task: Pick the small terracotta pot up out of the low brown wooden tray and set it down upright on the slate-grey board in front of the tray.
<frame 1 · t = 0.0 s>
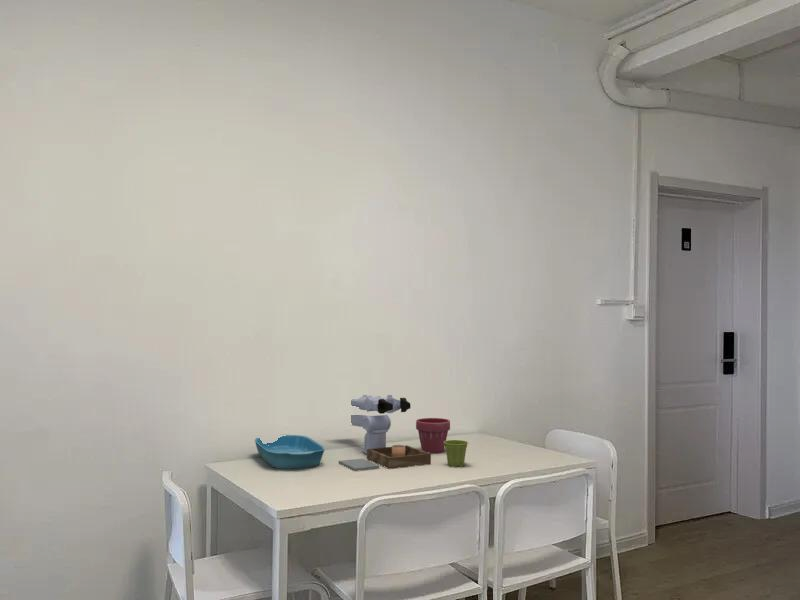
hand: (400, 406, 276), 22 cm above the table, tool horizontal, fingers open, 7 cm apart
plant pot 2: (455, 465, 275), on the table
plant pot: (432, 451, 300), on the table
slate board: (358, 465, 270), on the table
brown wooden tray: (398, 461, 279), on the table
casserole dish: (288, 461, 278), on the table
terracotta pot: (398, 454, 279), in the brown wooden tray
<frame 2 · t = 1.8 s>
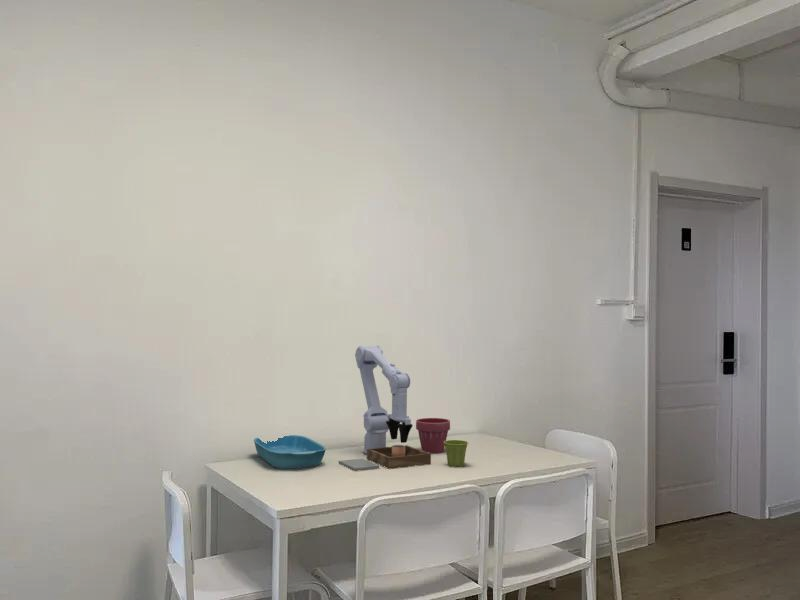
hand: (398, 440, 279), 8 cm above the table, tool pointing down, fingers open, 7 cm apart
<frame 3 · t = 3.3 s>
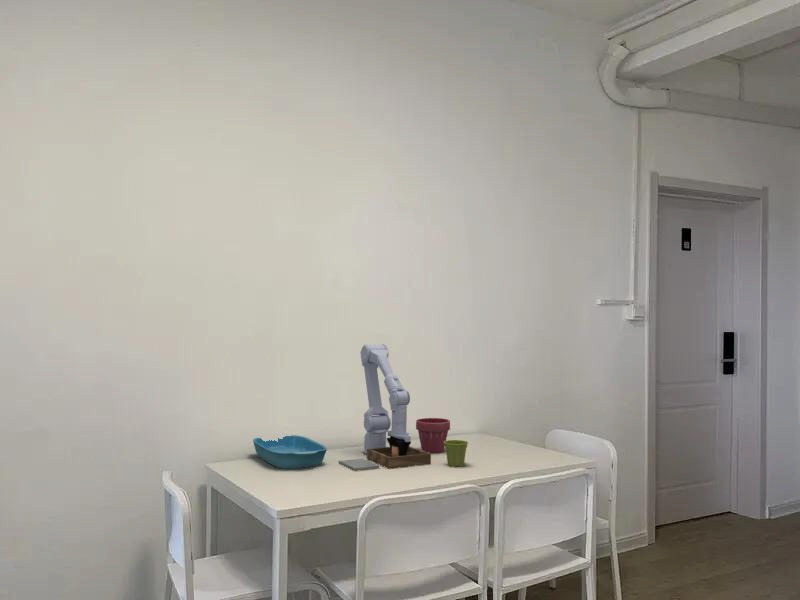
hand: (398, 457, 279), 2 cm above the table, tool pointing down, fingers closed on terracotta pot, 5 cm apart
terracotta pot: (398, 453, 279), in the brown wooden tray, touching gripper
everything else where it was.
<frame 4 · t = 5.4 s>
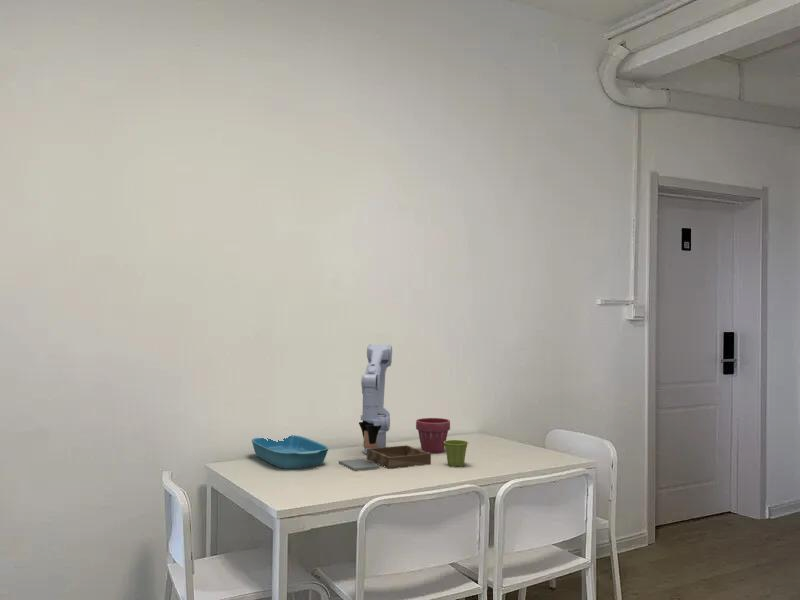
hand: (369, 442, 272), 8 cm above the table, tool pointing down, fingers closed on terracotta pot, 5 cm apart
terracotta pot: (370, 438, 273), point 10 cm above the table, touching gripper
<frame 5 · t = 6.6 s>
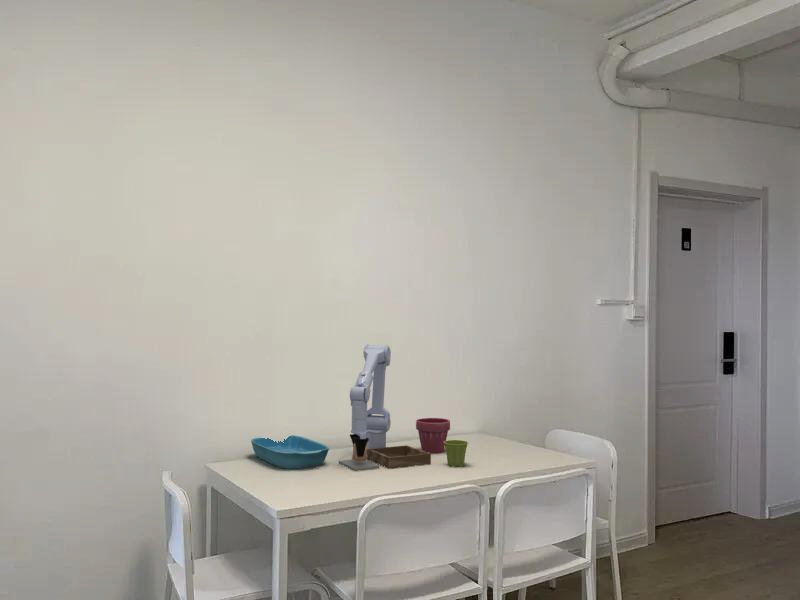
hand: (358, 455, 270), 4 cm above the table, tool pointing down, fingers closed on terracotta pot, 5 cm apart
terracotta pot: (359, 451, 270), point 5 cm above the table, touching gripper
when the fingers open (4 cm above the table, at t = 7.5 s): terracotta pot drops 1 cm, resting on slate board.
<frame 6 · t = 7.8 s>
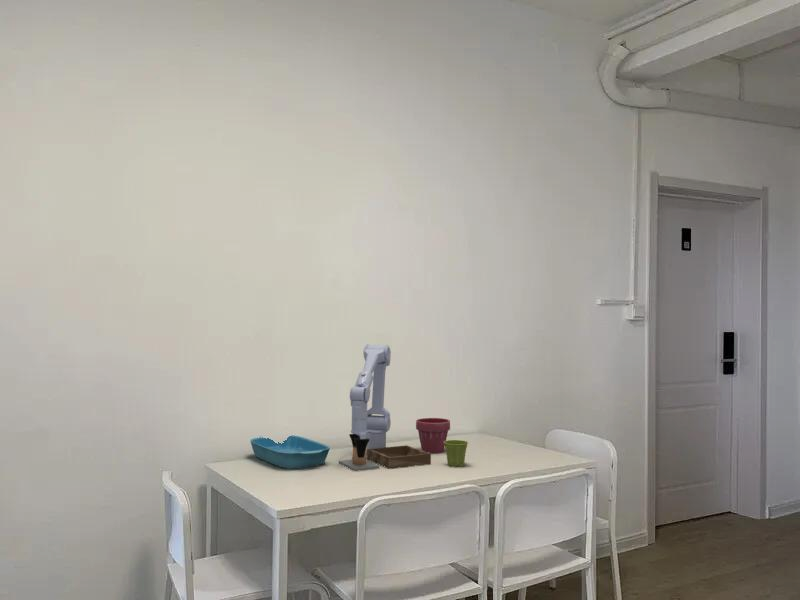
hand: (358, 455, 270), 4 cm above the table, tool pointing down, fingers open, 7 cm apart
terracotta pot: (359, 455, 270), on the slate board, point 4 cm above the table
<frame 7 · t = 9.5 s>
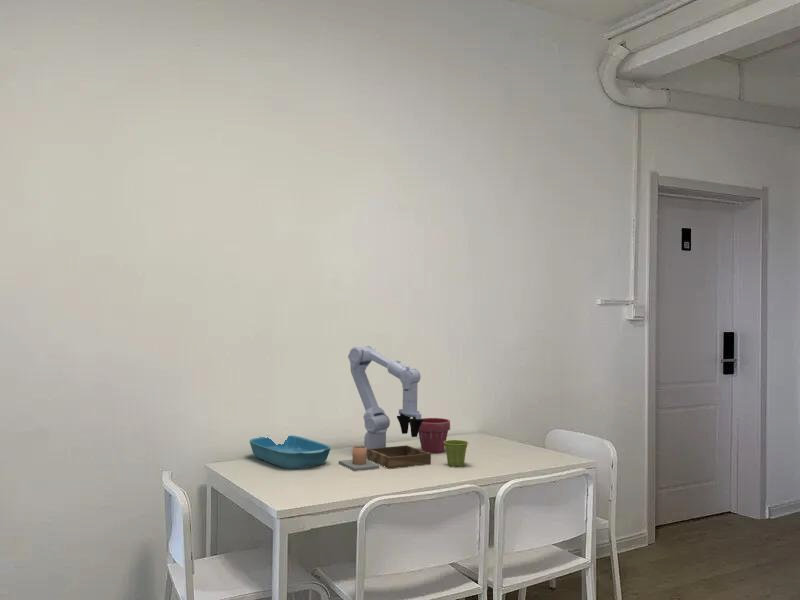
hand: (409, 435, 283), 9 cm above the table, tool pointing down, fingers open, 7 cm apart
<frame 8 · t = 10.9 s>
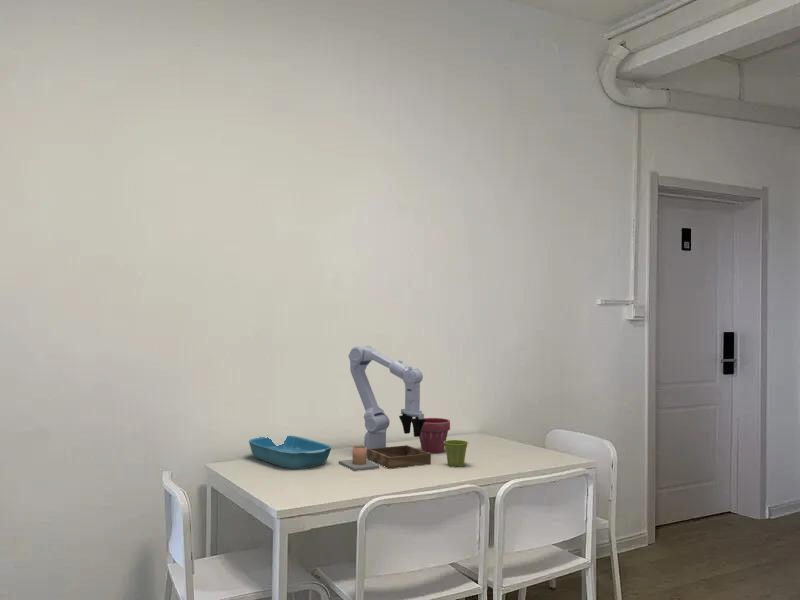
hand: (411, 435, 284), 9 cm above the table, tool pointing down, fingers open, 7 cm apart
at the end: terracotta pot inside the target area on the slate board (0.2 cm from its centre), point 4.0 cm above the slate board's base; terracotta pot tilted 0°; the gripper is holding nothing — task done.
